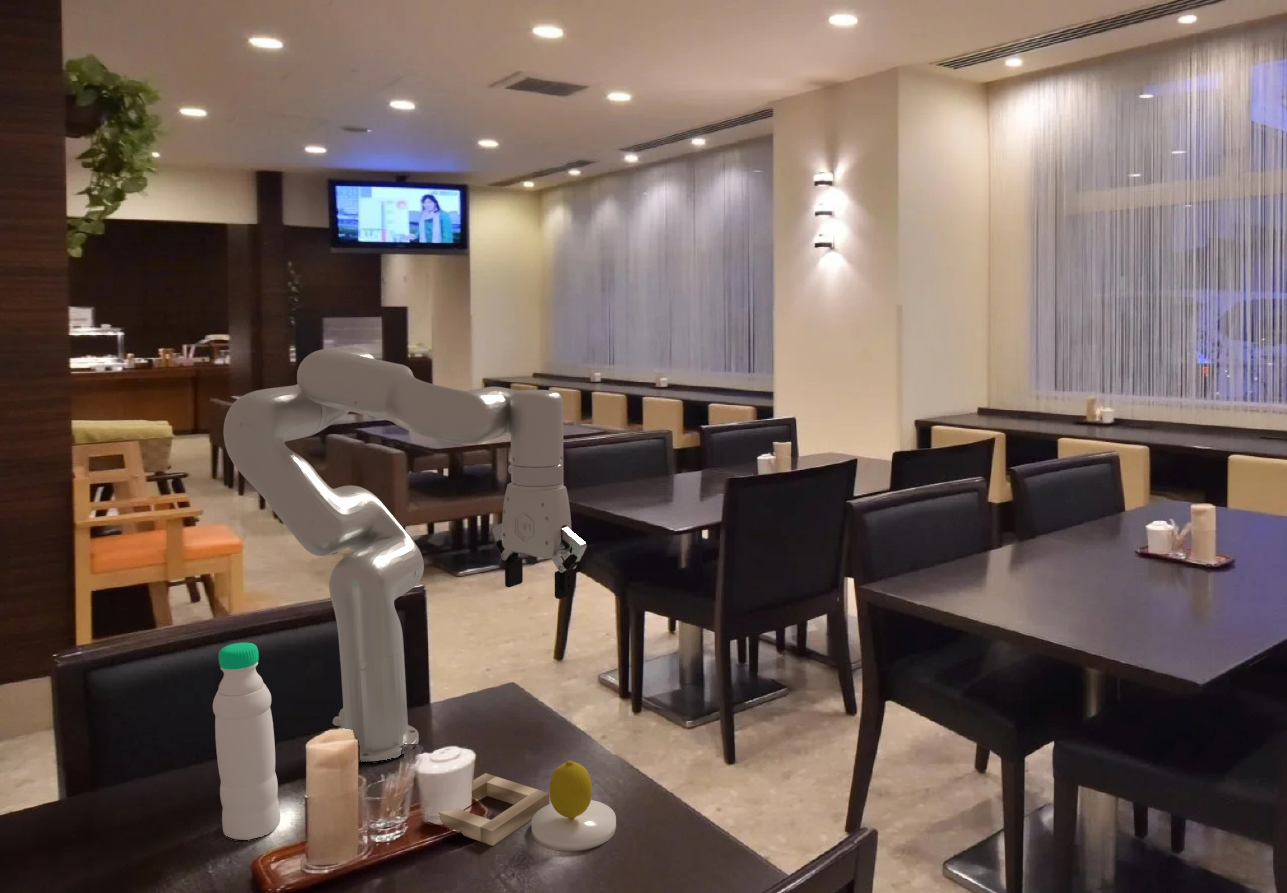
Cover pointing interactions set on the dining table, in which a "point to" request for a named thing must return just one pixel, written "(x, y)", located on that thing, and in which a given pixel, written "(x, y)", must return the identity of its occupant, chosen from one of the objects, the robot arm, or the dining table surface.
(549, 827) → the saucer
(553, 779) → the lemon
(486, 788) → the frame
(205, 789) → the dining table surface
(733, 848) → the dining table surface
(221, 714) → the water bottle
